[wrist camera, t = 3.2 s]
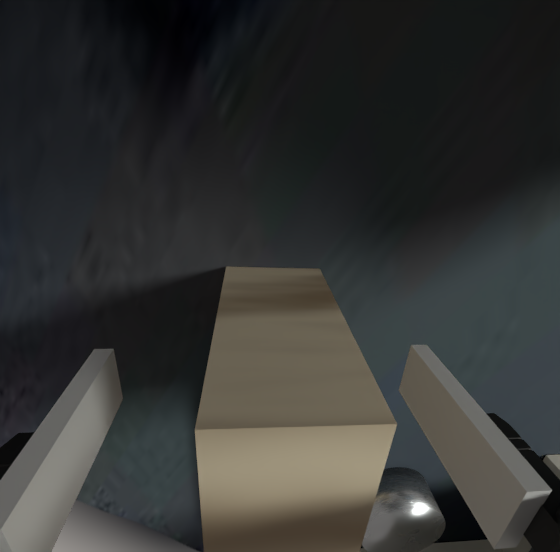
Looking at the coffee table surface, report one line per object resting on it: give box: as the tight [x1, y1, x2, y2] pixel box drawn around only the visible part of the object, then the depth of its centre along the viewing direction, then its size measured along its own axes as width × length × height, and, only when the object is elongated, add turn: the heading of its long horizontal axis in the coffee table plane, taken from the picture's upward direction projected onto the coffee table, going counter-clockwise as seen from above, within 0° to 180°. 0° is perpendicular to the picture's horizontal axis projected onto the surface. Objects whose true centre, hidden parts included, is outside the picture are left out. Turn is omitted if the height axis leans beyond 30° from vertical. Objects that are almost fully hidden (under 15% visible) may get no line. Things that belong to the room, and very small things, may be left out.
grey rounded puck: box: [362, 467, 446, 552], centre depth 25 cm, size 6×6×3 cm
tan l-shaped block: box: [195, 267, 397, 552], centre depth 17 cm, size 21×5×10 cm, turn 177°
